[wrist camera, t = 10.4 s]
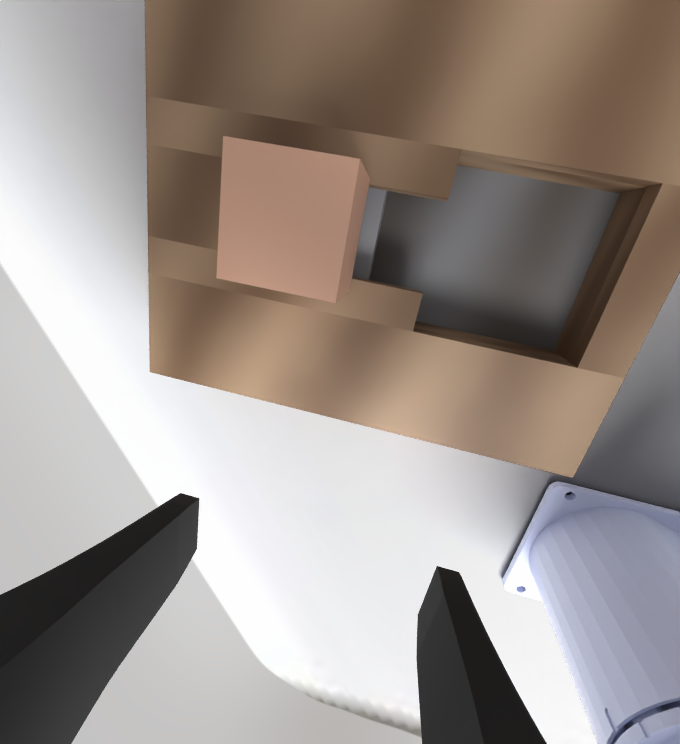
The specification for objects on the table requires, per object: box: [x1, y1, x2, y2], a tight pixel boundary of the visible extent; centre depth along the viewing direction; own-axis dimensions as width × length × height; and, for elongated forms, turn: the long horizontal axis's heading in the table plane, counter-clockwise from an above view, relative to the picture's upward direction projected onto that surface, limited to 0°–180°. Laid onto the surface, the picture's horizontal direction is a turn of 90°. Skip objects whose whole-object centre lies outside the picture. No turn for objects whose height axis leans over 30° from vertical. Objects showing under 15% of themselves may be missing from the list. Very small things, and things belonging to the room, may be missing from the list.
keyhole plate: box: [145, 0, 680, 478], centre depth 15 cm, size 20×16×3 cm
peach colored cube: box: [216, 136, 388, 303], centre depth 13 cm, size 5×5×6 cm
